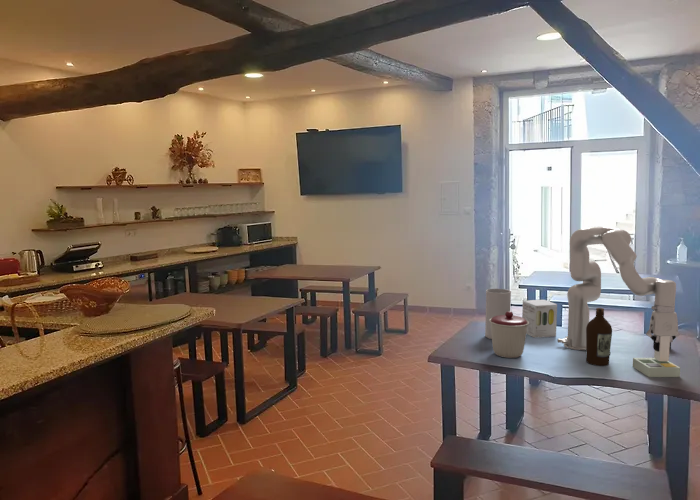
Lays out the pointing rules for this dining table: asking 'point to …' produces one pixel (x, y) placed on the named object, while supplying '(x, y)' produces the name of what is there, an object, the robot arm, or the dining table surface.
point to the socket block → (656, 367)
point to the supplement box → (540, 318)
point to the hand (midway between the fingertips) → (661, 350)
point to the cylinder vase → (496, 306)
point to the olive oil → (598, 340)
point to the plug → (663, 349)
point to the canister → (508, 334)
